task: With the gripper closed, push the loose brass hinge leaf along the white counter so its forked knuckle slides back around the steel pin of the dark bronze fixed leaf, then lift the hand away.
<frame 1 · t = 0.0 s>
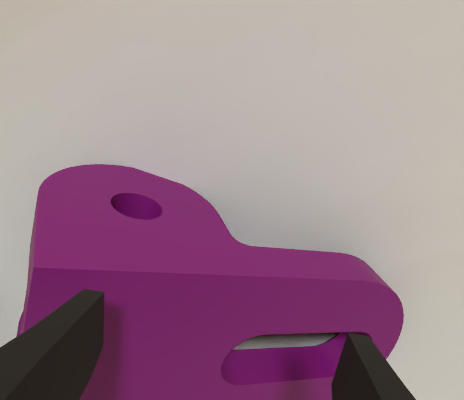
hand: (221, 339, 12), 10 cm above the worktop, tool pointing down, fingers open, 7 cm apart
mounting bracket: (230, 276, 24), on the worktop
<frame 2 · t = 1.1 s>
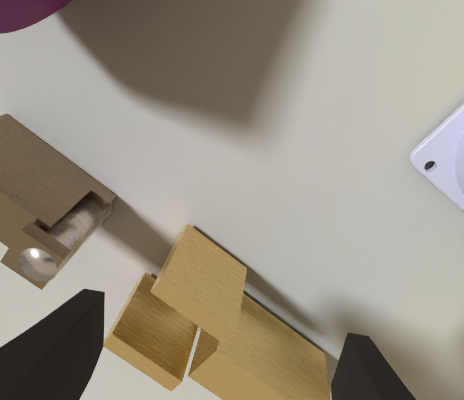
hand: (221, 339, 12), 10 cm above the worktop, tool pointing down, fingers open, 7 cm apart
fixed leaf: (98, 203, 23), on the worktop
loose leaf: (234, 342, 22), point 3 cm above the worktop, slide at 7.0 cm
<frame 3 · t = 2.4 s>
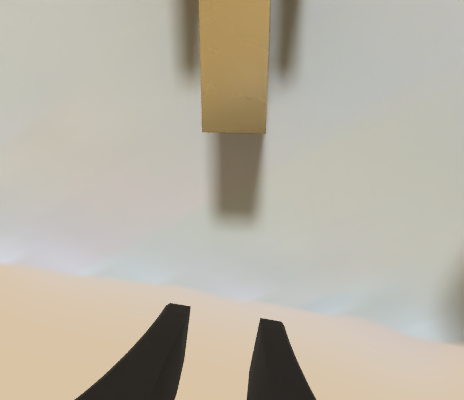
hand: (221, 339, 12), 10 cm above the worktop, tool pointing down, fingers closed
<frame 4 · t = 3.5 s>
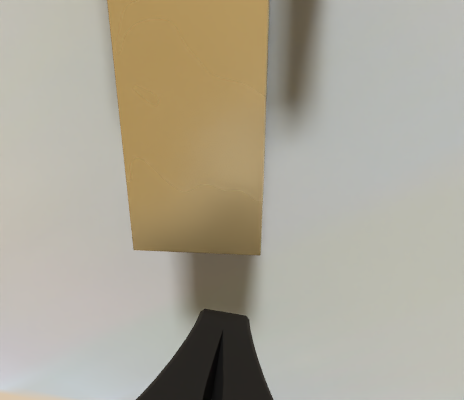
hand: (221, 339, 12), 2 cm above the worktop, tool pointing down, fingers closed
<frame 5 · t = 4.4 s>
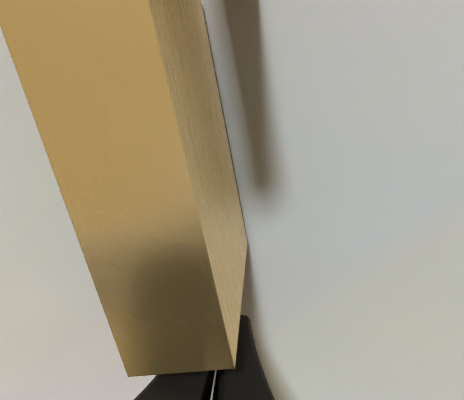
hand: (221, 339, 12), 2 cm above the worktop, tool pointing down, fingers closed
loose leaf: (142, 74, 9), point 3 cm above the worktop, slide at 6.5 cm, touching gripper
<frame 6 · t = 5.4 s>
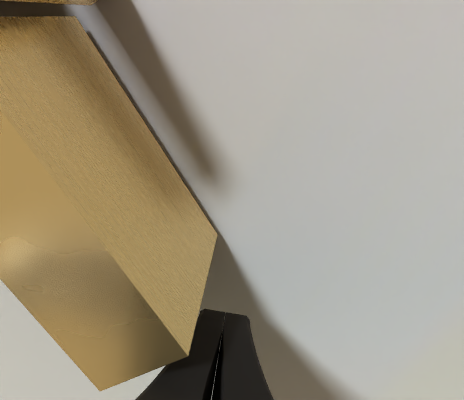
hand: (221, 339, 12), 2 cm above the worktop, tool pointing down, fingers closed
loose leaf: (30, 110, 9), point 3 cm above the worktop, slide at 0.8 cm, touching gripper
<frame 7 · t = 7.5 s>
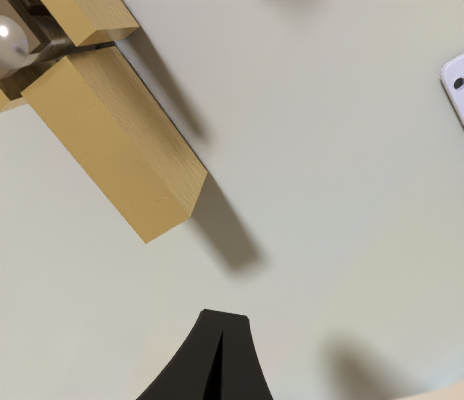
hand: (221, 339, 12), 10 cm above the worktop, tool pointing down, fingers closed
fixed leaf: (80, 34, 19), on the worktop
loose leaf: (98, 98, 17), point 3 cm above the worktop, slide at 0.0 cm
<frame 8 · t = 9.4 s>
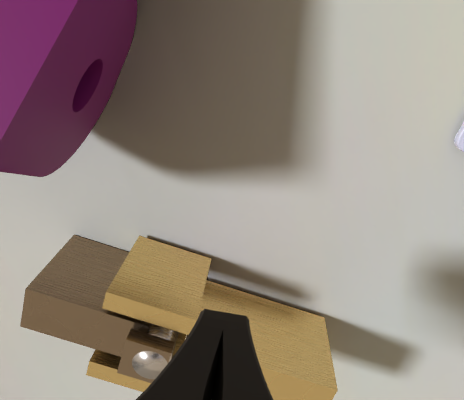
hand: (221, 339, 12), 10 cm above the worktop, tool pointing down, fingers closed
fixed leaf: (177, 284, 24), on the worktop
loose leaf: (219, 333, 21), point 3 cm above the worktop, slide at 0.0 cm
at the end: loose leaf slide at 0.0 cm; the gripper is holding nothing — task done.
